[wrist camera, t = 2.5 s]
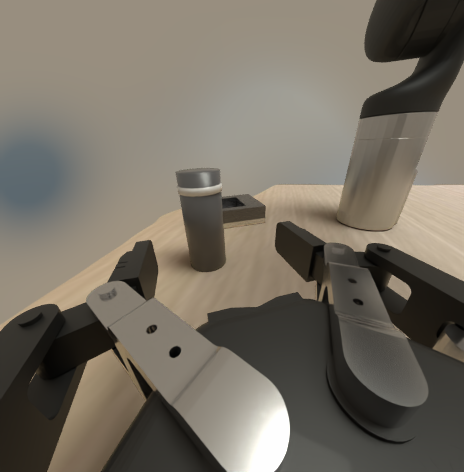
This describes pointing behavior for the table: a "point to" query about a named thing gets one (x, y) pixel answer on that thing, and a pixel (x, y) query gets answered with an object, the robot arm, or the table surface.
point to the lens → (203, 217)
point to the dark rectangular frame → (242, 211)
